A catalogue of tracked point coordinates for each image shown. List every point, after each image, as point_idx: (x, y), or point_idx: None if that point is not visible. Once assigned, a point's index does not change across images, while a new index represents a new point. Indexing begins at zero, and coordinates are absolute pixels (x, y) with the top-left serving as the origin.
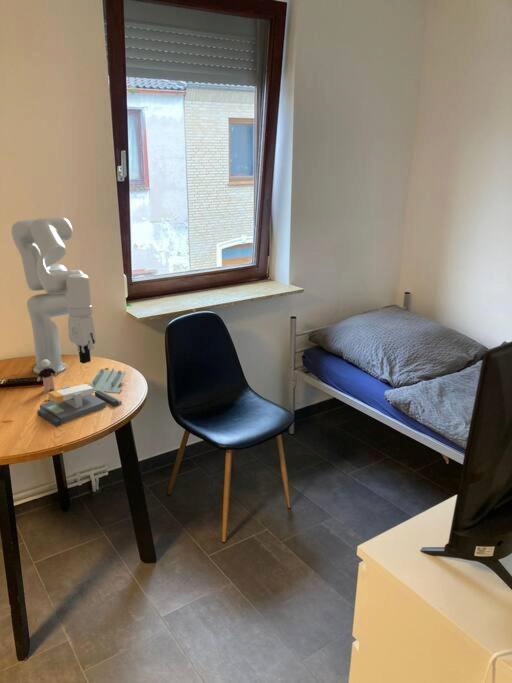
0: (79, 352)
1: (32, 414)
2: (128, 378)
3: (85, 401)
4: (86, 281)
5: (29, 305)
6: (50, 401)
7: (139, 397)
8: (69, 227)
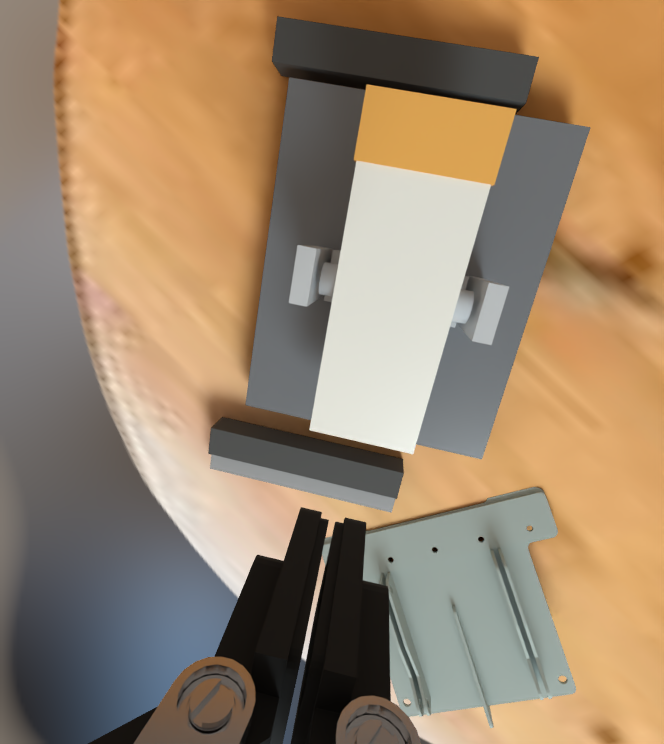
0: (335, 662)
1: (573, 54)
2: None
3: None
4: None
5: None
6: (556, 216)
7: (205, 550)
8: None
